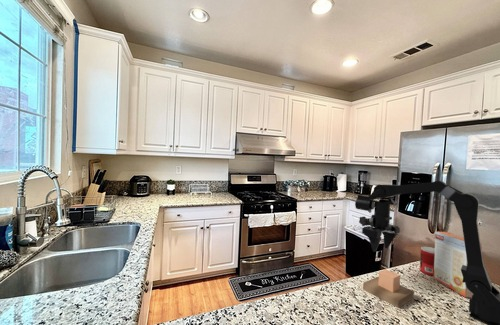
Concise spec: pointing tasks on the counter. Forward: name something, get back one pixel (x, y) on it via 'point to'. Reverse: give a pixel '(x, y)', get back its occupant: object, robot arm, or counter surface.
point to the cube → (389, 280)
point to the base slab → (389, 293)
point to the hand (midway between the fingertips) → (380, 249)
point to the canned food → (427, 260)
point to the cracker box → (450, 262)
